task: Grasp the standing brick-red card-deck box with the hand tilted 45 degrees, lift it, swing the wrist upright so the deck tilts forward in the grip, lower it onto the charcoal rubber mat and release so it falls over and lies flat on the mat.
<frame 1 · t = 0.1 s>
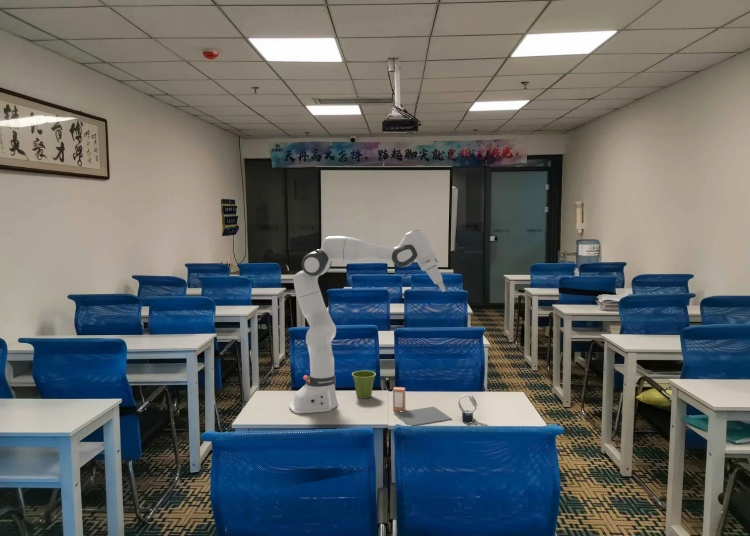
hand: (444, 290, 222), 54 cm above the table, tool tilted 30°, fingers open, 8 cm apart
deck: (399, 410, 226), on the table
plant pot: (364, 396, 245), on the table
watch: (467, 420, 213), on the table
mat: (422, 416, 218), on the table
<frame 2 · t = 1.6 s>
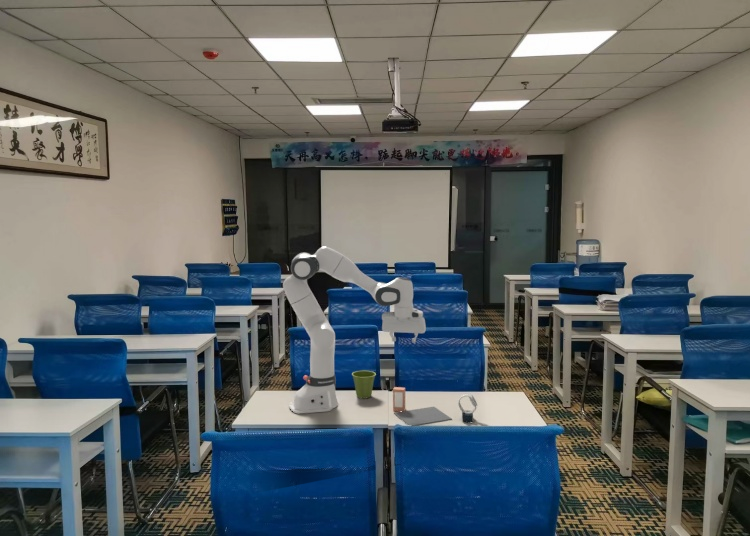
hand: (403, 341, 233), 29 cm above the table, tool pointing down, fingers open, 8 cm apart
nothing on the table moved.
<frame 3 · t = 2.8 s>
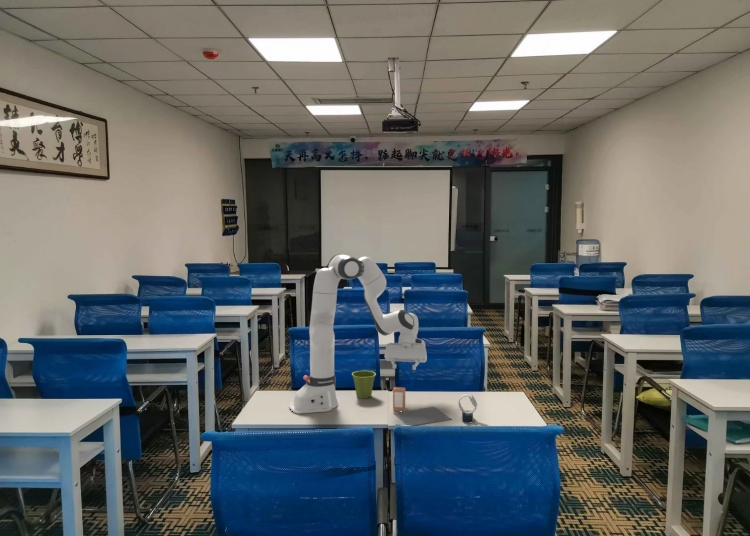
hand: (403, 368, 236), 16 cm above the table, tool tilted 45°, fingers open, 8 cm apart
nothing on the table moved.
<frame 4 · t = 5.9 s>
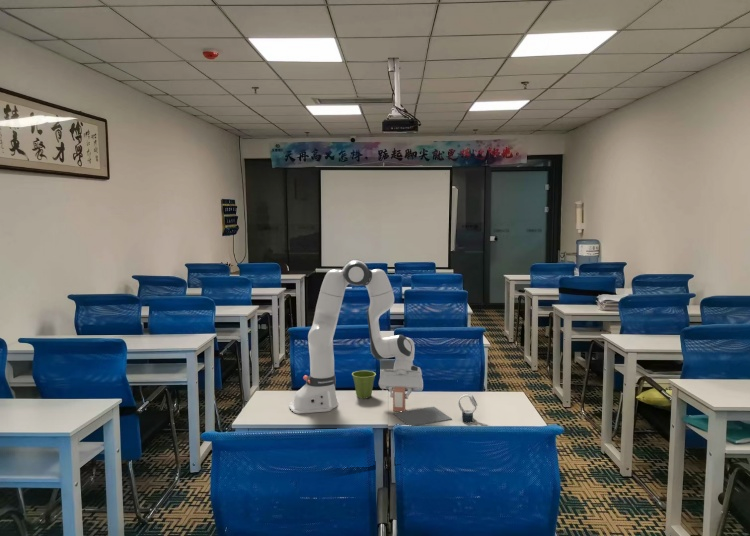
hand: (399, 397, 225), 6 cm above the table, tool tilted 45°, fingers closed on deck, 5 cm apart
deck: (399, 410, 226), on the table, touching gripper
everything else where it was.
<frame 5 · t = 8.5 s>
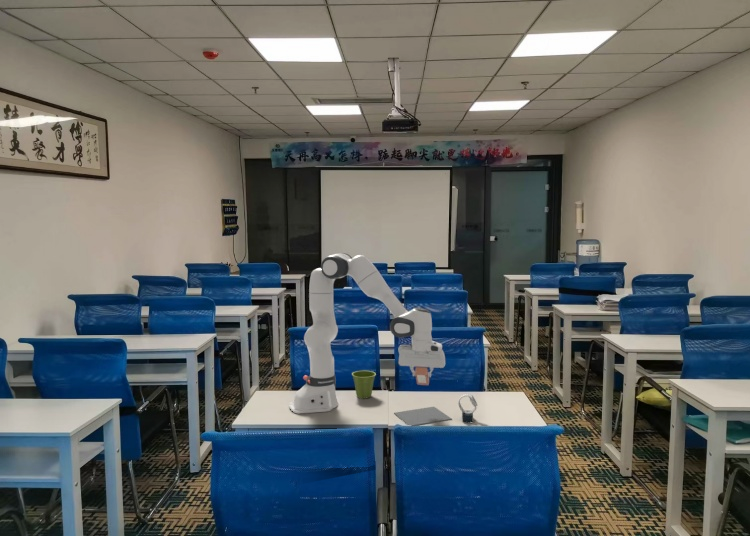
hand: (421, 376, 219), 17 cm above the table, tool pointing down, fingers closed on deck, 5 cm apart
deck: (423, 381, 224), point 13 cm above the table, tilted 45°, touching gripper
everything else where it was.
when the fingers open (6 cm above the table, at t = 10.6 s): deck moves 1 cm and tips over, resting on mat.
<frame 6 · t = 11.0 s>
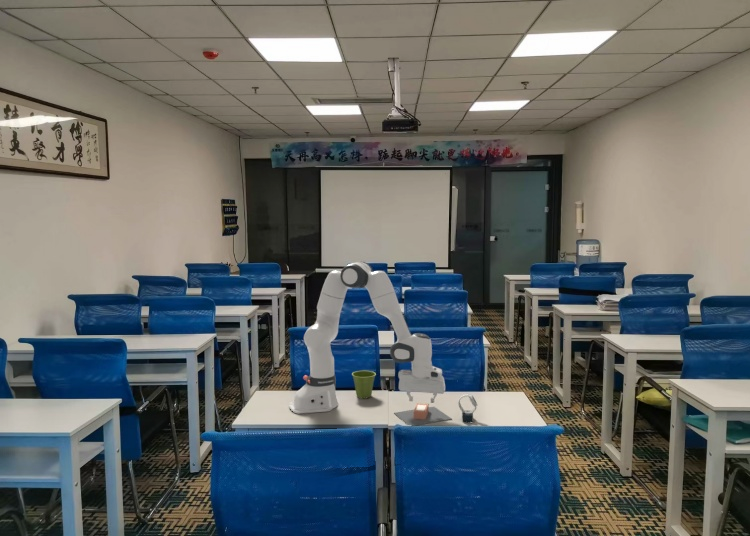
hand: (421, 401, 220), 6 cm above the table, tool pointing down, fingers open, 8 cm apart
deck: (422, 407, 224), point 2 cm above the table, tilted 90°, touching mat
everything else where it was.
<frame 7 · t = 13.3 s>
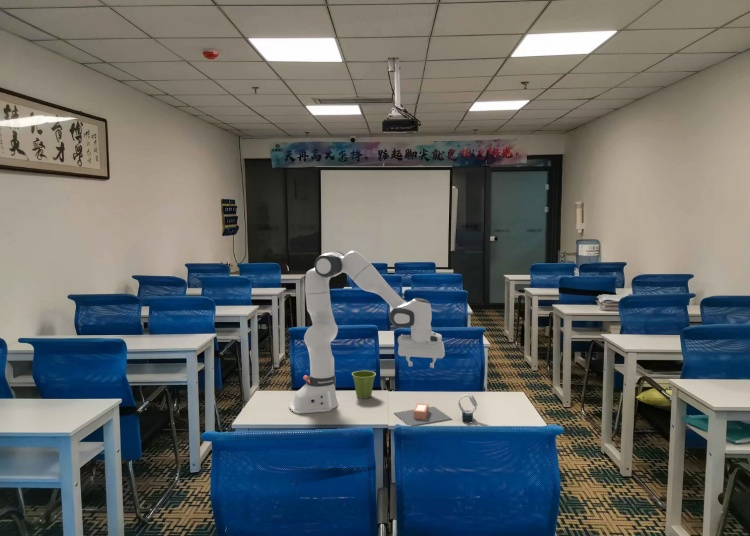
hand: (421, 366, 219), 21 cm above the table, tool pointing down, fingers open, 8 cm apart
nothing on the table moved.
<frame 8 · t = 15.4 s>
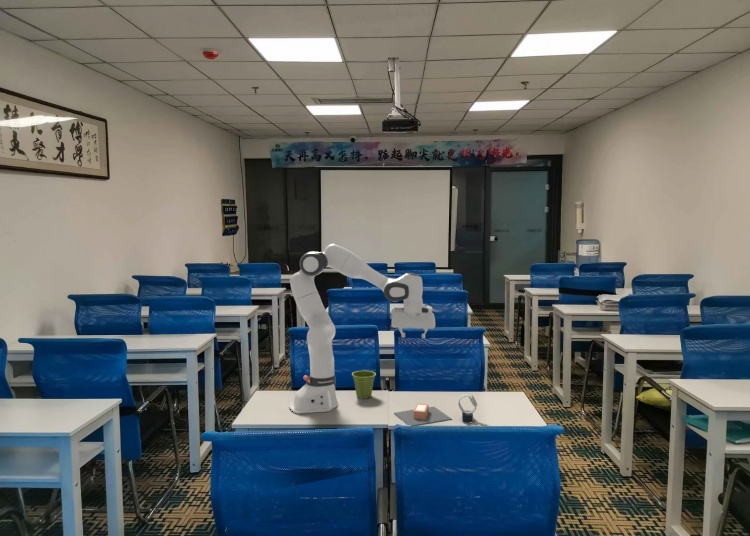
hand: (413, 337, 233), 31 cm above the table, tool pointing down, fingers open, 8 cm apart
nothing on the table moved.
at the end: deck tilted 90°; deck inside the target area (5.1 cm from its centre), point 2.0 cm above the table; deck touching mat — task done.
